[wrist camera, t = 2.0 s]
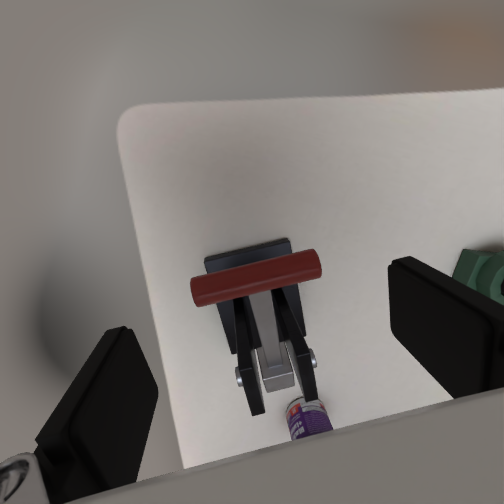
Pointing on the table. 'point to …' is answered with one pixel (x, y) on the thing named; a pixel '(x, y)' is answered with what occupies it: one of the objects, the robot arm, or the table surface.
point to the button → (502, 287)
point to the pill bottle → (307, 419)
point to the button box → (482, 272)
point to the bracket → (245, 329)
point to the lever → (261, 303)
